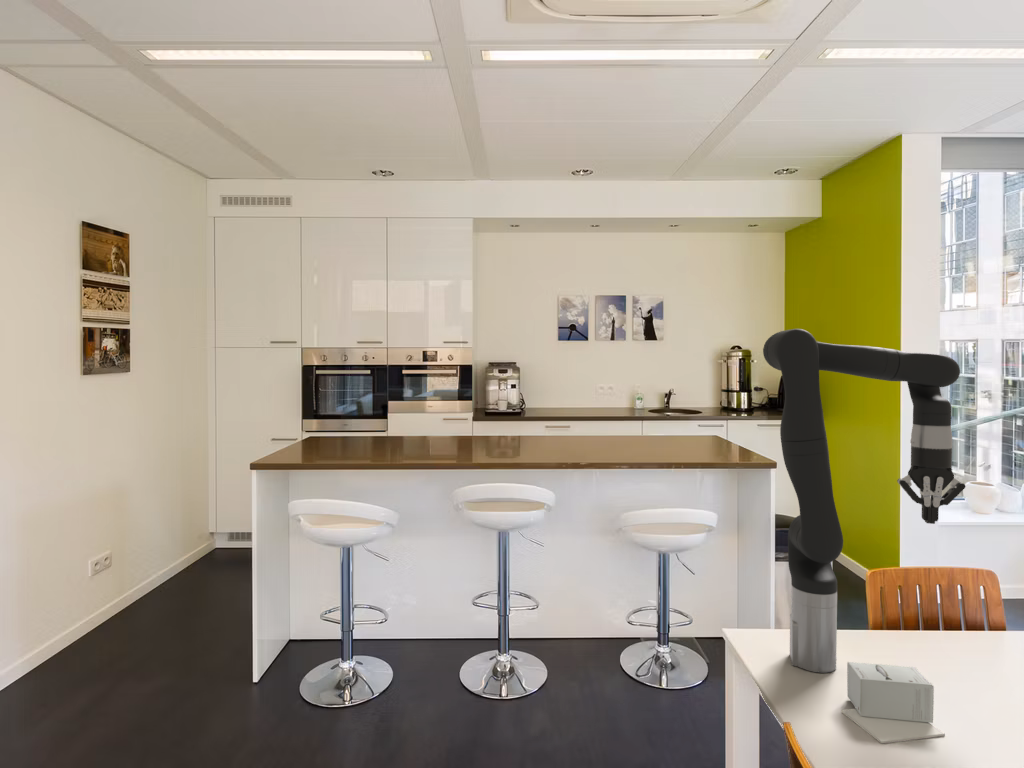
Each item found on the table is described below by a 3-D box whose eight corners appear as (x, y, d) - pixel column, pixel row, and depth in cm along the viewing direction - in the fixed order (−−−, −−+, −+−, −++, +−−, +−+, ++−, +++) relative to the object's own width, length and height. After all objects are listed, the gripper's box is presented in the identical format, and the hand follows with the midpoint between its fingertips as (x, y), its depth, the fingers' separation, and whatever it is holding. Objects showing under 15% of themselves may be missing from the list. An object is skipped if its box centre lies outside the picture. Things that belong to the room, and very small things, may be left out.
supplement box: (934, 685, 113) (860, 679, 115) (934, 724, 113) (860, 717, 116) (915, 665, 120) (846, 660, 123) (915, 702, 121) (846, 696, 123)
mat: (881, 743, 108) (881, 741, 108) (841, 712, 118) (841, 710, 118) (944, 735, 110) (944, 733, 110) (900, 705, 120) (900, 703, 120)
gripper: (900, 446, 134) (899, 524, 135) (973, 448, 130) (971, 529, 130) (892, 442, 141) (891, 516, 142) (960, 444, 137) (959, 521, 137)
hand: (929, 522), depth 136 cm, fingers closed
